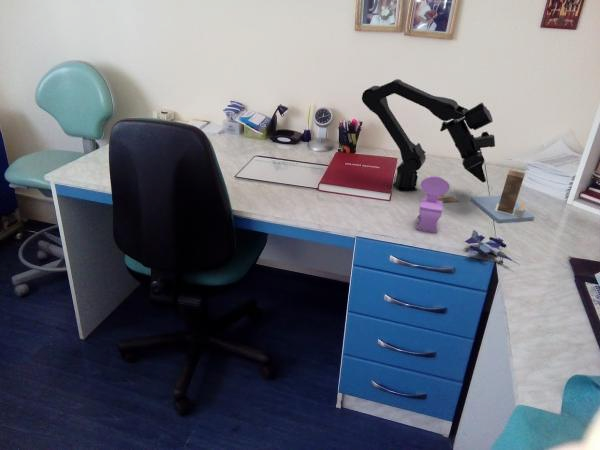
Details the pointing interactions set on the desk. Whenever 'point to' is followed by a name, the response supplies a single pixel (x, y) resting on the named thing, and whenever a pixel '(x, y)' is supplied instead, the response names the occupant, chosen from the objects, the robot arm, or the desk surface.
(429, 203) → the toy chair
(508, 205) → the block
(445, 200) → the wing slat
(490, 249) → the toy airplane
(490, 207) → the board
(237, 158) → the desk surface
